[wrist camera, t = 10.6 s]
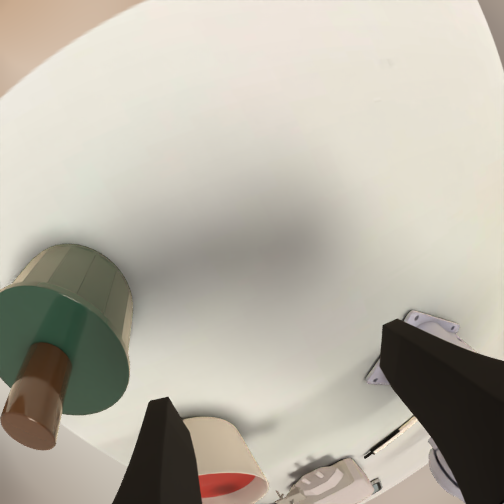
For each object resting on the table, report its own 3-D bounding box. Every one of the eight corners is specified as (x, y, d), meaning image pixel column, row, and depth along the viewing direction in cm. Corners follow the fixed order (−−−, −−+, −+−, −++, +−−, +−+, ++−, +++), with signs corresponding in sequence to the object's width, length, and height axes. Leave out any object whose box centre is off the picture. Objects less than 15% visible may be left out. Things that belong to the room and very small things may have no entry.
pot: (146, 265, 18) (140, 317, 13) (120, 359, 20) (114, 419, 15) (31, 227, 15) (-11, 266, 10) (22, 328, 17) (-5, 381, 12)
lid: (147, 304, 13) (144, 398, 8) (118, 415, 15) (116, 495, 10) (-11, 251, 10) (-76, 316, 6) (-6, 374, 13) (-35, 446, 8)
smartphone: (382, 488, 43) (311, 524, 42) (380, 485, 44) (309, 521, 43) (380, 480, 40) (300, 519, 39) (378, 476, 41) (299, 515, 40)
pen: (364, 456, 34) (361, 454, 34) (471, 362, 33) (470, 359, 32) (367, 460, 34) (364, 459, 33) (475, 366, 32) (474, 362, 32)
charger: (337, 439, 30) (363, 470, 37) (266, 475, 30) (309, 498, 37) (354, 471, 26) (376, 492, 33) (278, 507, 26) (320, 521, 33)
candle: (183, 469, 26) (192, 521, 20) (127, 427, 22) (128, 491, 16) (264, 440, 26) (284, 494, 21) (222, 391, 23) (240, 459, 17)
